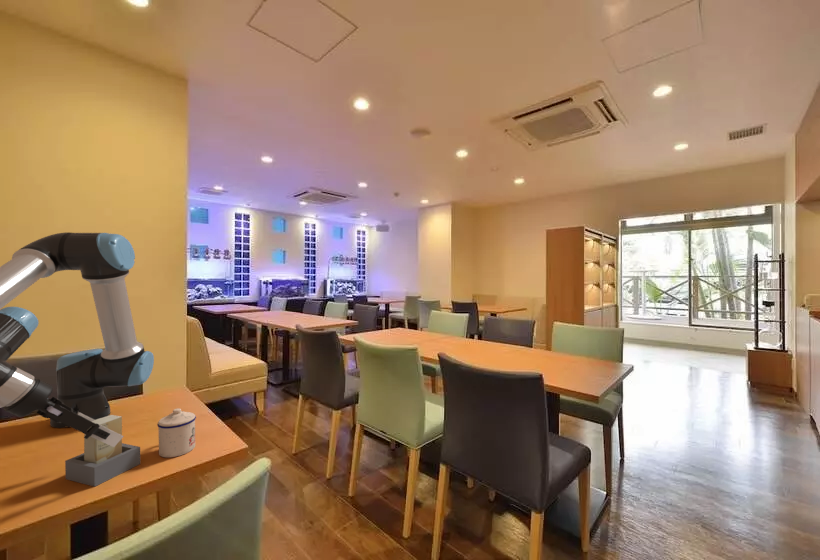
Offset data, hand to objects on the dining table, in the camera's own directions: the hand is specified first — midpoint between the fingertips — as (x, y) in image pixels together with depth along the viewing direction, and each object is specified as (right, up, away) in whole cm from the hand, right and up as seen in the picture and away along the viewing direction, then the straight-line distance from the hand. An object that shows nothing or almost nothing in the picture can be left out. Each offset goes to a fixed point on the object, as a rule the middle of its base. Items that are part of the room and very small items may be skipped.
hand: (107, 434), depth 89 cm
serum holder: (-1, -9, 0) cm, 9 cm away
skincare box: (0, -8, -1) cm, 8 cm away
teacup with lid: (+10, -9, +11) cm, 18 cm away
